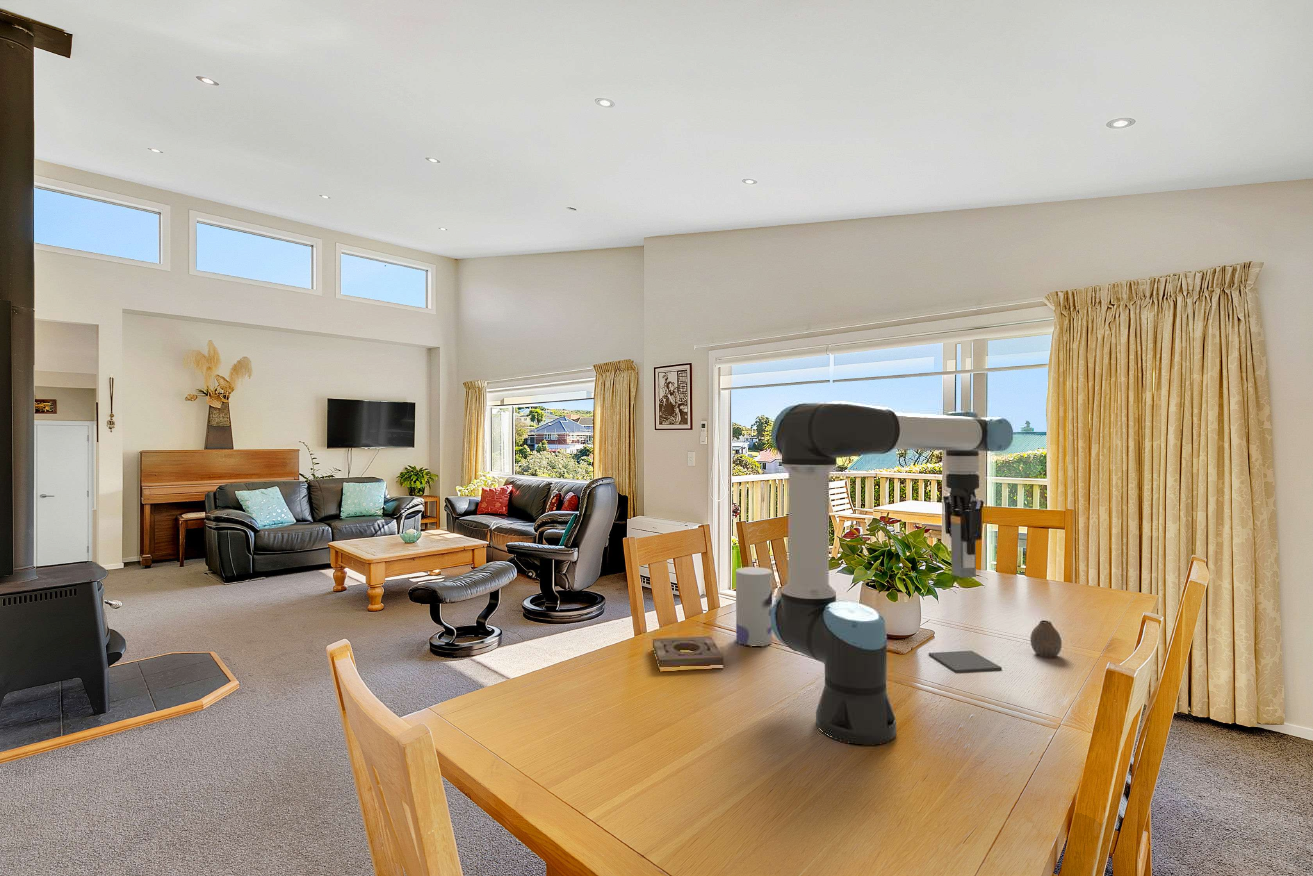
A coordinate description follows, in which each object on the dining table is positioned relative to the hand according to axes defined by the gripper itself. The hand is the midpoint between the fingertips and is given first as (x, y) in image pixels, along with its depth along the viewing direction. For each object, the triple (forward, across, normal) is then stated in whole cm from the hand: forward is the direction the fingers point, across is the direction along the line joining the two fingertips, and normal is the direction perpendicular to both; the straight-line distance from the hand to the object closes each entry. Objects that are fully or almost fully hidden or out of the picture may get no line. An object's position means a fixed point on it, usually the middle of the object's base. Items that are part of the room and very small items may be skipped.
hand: (963, 565), depth 158 cm
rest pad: (+25, 0, 0) cm, 25 cm away
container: (+25, +23, +48) cm, 59 cm away
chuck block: (+25, +12, +69) cm, 74 cm away
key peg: (+3, 0, 0) cm, 3 cm away
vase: (+25, +2, -24) cm, 35 cm away
